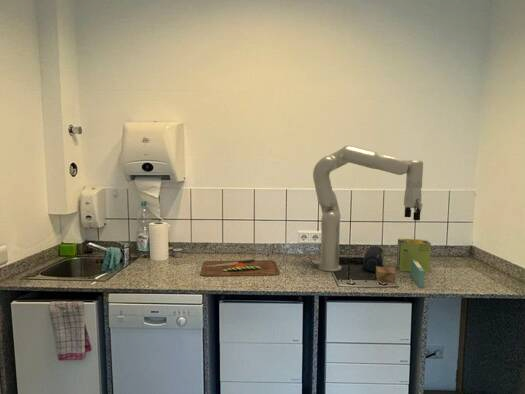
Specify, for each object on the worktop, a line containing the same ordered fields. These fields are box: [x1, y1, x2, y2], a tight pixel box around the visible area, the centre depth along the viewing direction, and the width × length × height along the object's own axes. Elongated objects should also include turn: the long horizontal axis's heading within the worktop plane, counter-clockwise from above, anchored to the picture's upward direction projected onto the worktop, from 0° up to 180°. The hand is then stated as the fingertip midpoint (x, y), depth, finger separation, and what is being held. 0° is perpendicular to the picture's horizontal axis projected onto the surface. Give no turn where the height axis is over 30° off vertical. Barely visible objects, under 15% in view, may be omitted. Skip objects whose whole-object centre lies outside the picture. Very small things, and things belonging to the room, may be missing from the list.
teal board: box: [410, 259, 425, 289], centre depth 193 cm, size 2×20×8 cm, turn 170°
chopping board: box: [195, 258, 285, 278], centre depth 211 cm, size 45×27×3 cm, turn 95°
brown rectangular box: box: [375, 266, 396, 284], centre depth 195 cm, size 8×10×5 cm
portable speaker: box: [362, 245, 385, 272], centre depth 216 cm, size 25×10×10 cm, turn 160°
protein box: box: [396, 238, 432, 274], centre depth 212 cm, size 10×15×16 cm
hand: (411, 218), depth 201 cm, fingers open, 9 cm apart
